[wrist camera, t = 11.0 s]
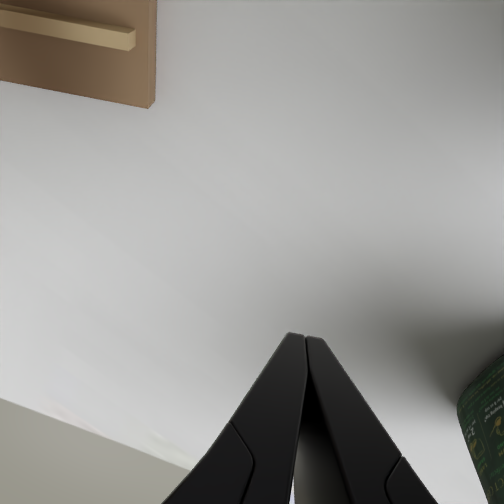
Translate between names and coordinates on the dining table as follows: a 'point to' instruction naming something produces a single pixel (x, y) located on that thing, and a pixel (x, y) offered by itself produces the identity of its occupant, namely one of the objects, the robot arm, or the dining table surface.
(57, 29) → the trammel board
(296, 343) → the robot arm
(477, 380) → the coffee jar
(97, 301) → the dining table surface
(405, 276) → the dining table surface
